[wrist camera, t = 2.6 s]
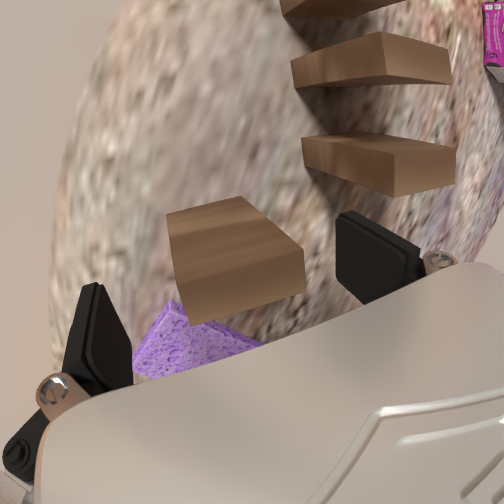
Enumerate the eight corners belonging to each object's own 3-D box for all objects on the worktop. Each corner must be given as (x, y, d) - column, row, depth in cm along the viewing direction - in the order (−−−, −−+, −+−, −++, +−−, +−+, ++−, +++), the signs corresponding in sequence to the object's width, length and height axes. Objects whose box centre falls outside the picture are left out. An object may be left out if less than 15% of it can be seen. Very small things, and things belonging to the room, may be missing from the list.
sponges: (169, 294, 21) (170, 308, 20) (285, 349, 27) (293, 361, 26) (128, 355, 22) (127, 371, 21) (241, 394, 28) (247, 408, 27)
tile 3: (354, 87, 18) (452, 84, 11) (294, 88, 17) (387, 74, 10) (351, 62, 18) (447, 49, 10) (290, 60, 16) (380, 31, 9)
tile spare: (245, 223, 20) (305, 291, 12) (173, 242, 19) (190, 326, 11) (240, 195, 19) (303, 249, 12) (166, 214, 18) (176, 285, 11)
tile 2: (360, 157, 21) (454, 184, 13) (304, 165, 20) (394, 198, 12) (359, 131, 20) (455, 148, 12) (301, 137, 19) (394, 154, 11)
